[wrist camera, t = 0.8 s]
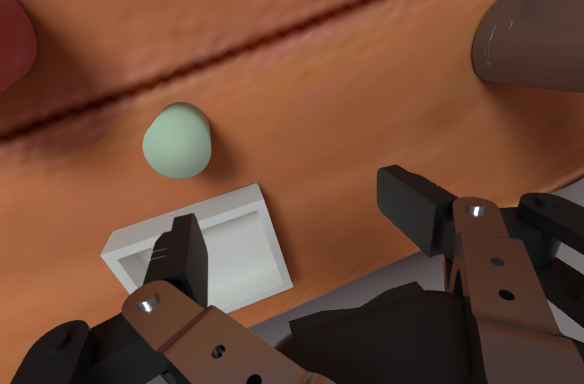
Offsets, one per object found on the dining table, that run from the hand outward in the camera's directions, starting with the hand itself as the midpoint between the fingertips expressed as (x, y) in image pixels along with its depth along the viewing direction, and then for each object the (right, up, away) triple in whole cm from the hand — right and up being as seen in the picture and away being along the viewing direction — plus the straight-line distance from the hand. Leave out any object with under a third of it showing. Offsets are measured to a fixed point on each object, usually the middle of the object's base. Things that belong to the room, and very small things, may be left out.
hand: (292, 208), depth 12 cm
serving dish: (-10, -6, +22) cm, 25 cm away
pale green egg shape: (-11, +7, +15) cm, 20 cm away
